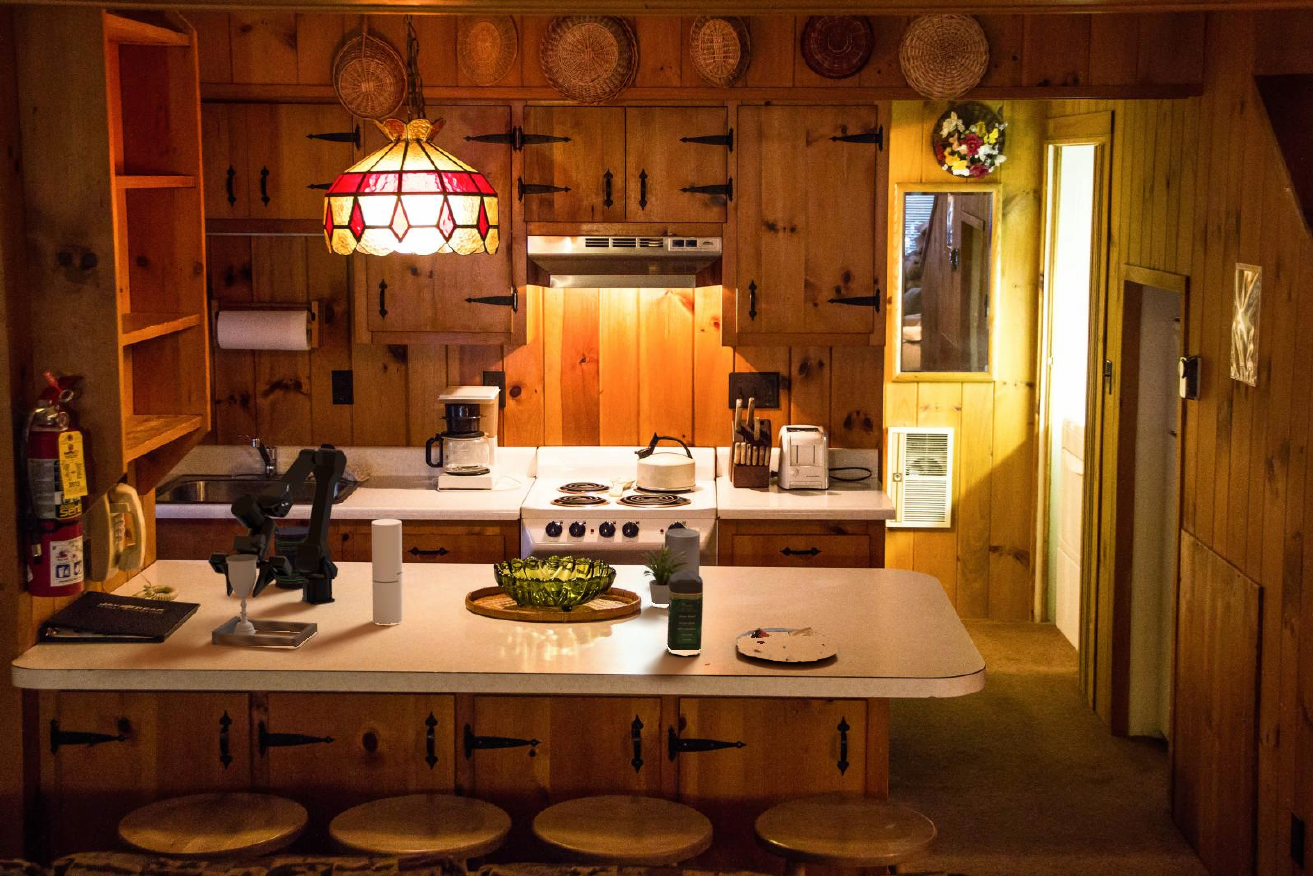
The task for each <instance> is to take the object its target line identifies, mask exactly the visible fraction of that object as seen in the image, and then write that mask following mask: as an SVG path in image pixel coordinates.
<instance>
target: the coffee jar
mask: <svg viewBox="0 0 1313 876" xmlns="http://www.w3.org/2000/svg"><path fill="white" fill-rule="evenodd" d="M703 583H704V582H703V579H702V577H701V575H700V574H699V575H697V574H696V573H694V572H693V571H677V572H676V573H674V574H673V575H671V576H670V579H669V606H668V608H667V609H668V610H667V611H668V615H667V645H668V647H669V648H670V649H671V650H699V649H701V650H702V636H703V634H702V632H703V631H702V629H703V608H704V607H703V606H704V603H703V602H704V600H703V599H704V584H703ZM667 645H666V646H667Z"/></svg>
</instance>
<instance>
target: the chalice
mask: <svg viewBox="0 0 1313 876" xmlns="http://www.w3.org/2000/svg"><path fill="white" fill-rule="evenodd" d="M257 559H258V556H257V555H252V554H240V555H236V554H234V555H233V554H232V555H229V557H227V558H226V560H227V562H228V568H229V581H230V583H231V586H232V588H233V591H234V592H235V595H236V596H237V597H240V599H241V600H240V604H239V605H240V607H241V611H240V612H239V614H241V619H242V620H241V622H239V623H238V624H237V625H236V628H235V631H234V632H233V634H245V635H255V634H256V632H257V631H255V630H254V627H253V625H252V623H251V622H249V621H248V620H247V619H248V618H247V614H248V611H247V606H248V603H247V601H246V600H247V599H246V598H247V596H250V595H251V594H252V591H253V589H254V587H255V584H256V581H257V569H256V561H257Z"/></svg>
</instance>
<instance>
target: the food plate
mask: <svg viewBox="0 0 1313 876" xmlns="http://www.w3.org/2000/svg"><path fill="white" fill-rule="evenodd" d="M754 632H755V634H754ZM766 632H788V634H789V636H796V635H800V636H813V632H815V633H818V634H820V633H819V632H817V631H813V628H812V627H811V626H807V627H804V628H800V629H798V628H796V629H795V628H787V627H786V628H785V627H769V628H768V627H767V628H760V627H756V629H752V630H749V631H746V632H744V633H741V634H740V635H738V636H737V637H736V638H735V640H737V639H739V638H741V637H742V636H747V635H750V634H752V636H751V638H755V637H756V638H763V637H769V636H772V635H769V634H767V633H766ZM740 636H741V637H740ZM822 636H826V634H822ZM757 643H760V644H763V643H765V642H764V641H757ZM822 645H823V646H825V645H824V644H822ZM738 650H740V649H738ZM821 653H822V652H821Z"/></svg>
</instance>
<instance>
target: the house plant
mask: <svg viewBox="0 0 1313 876" xmlns="http://www.w3.org/2000/svg"><path fill="white" fill-rule="evenodd" d="M668 549H669V547H668V546H667V547H666V548H665V547H664V543H662V544H661V548H660V561H659V558H658V557H657V555H656V553H655V552H654V551H653V550H651V549H649V552H651V553H650V554H652V557H653V558H652V557H651V556H650V554H648V553H647V552H644V553H645V554H644V553H641V554H640V555H641V556H644V557H645V559H646V560H647V561H648V562H649V563H650V564H649V563H645V564H643V565H644V566H645V567H646V568H649V570H644V572H643V575H644V577H646V576H652V577H654V579H651V580H650V581H649V582H648V583H649V590H650V598H651V603H652V602H653V603H655V604H669V579H670V577H669V576H671V575H673V574H674V572H675V571H678V570H684V571H686V570H688V569H677V570H675V568H677V567H678V566H681V565H684V564H691V563H689V562H683V563H677V564H674V565H672V564H673V563H674V562H675V561H676V560H677V559H678V558H680V557H679V556H680V555H681V554H682V553H684V552H685V551H683V552H681V553H679V554H678V555H677V556H676V557H675V558H674V559H673V560H672V562H671V563H669V564H667V562H668V560H669V558H670V556H671V554H672V553H673V551H674V550H675V549H676V547H675V548H674V549H673V550H672V551H671V552H670V553H669V551H668ZM682 557H686V556H682ZM678 560H683V559H678ZM678 560H677V561H678ZM667 565H669V566H668V567H666V566H667ZM650 570H651V571H650ZM674 570H675V571H674ZM673 571H674V572H673Z"/></svg>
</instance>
